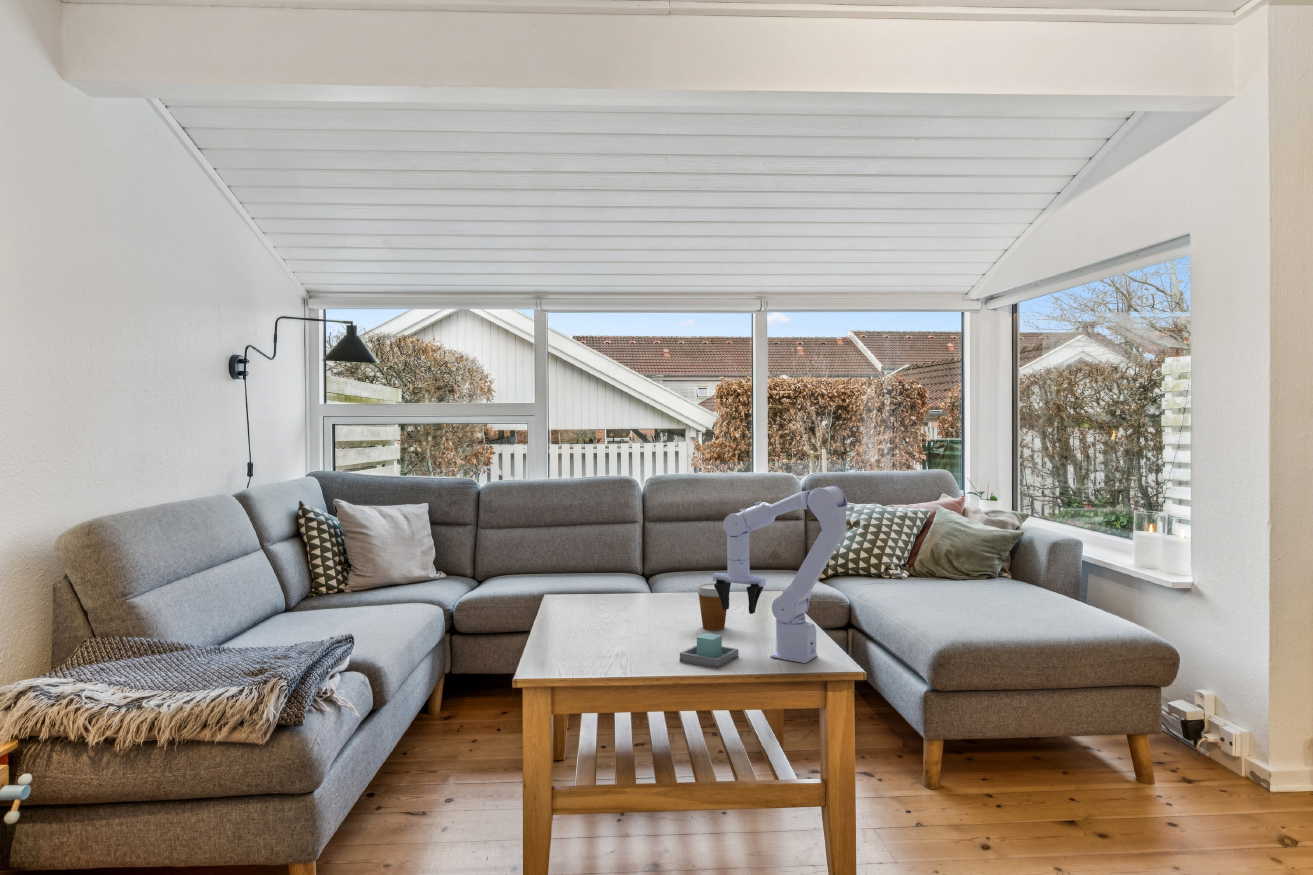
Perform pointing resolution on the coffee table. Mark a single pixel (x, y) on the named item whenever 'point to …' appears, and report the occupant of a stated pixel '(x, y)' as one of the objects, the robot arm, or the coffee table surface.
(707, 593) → the disposable coffee cup
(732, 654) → the tray
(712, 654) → the teal block
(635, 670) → the coffee table surface
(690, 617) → the coffee table surface
